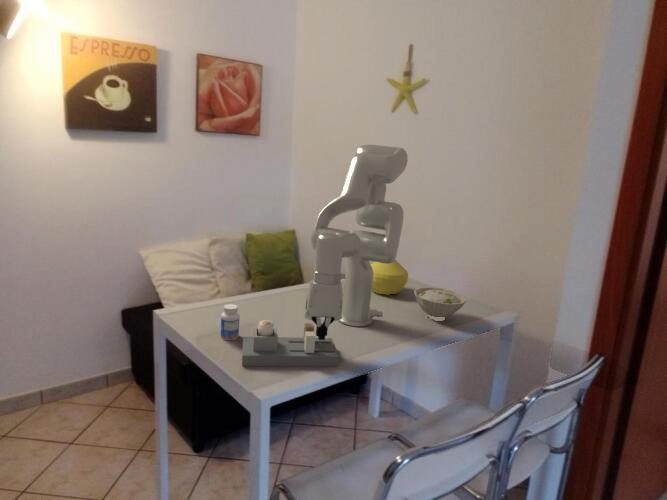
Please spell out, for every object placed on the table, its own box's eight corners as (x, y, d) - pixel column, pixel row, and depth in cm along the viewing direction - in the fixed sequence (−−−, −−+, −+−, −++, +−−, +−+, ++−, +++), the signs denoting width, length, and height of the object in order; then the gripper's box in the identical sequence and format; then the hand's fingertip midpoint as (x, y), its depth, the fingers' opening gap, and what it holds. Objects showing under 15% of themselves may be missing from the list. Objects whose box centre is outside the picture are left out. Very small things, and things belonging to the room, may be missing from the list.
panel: (331, 347, 141) (333, 325, 140) (338, 366, 130) (340, 342, 128) (242, 346, 137) (243, 323, 135) (241, 365, 125) (243, 341, 123)
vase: (353, 288, 200) (358, 244, 196) (382, 282, 213) (387, 241, 209) (386, 301, 188) (392, 255, 183) (414, 294, 200) (420, 250, 196)
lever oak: (311, 339, 138) (312, 323, 137) (312, 343, 135) (314, 327, 134) (303, 339, 138) (304, 323, 136) (304, 343, 135) (305, 327, 134)
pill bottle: (221, 332, 144) (223, 302, 142) (239, 333, 145) (241, 303, 143) (219, 340, 139) (220, 309, 137) (237, 341, 140) (239, 310, 137)
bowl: (440, 332, 161) (445, 304, 159) (399, 313, 176) (402, 287, 173) (473, 322, 174) (478, 296, 171) (432, 305, 188) (436, 281, 186)
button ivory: (272, 333, 133) (273, 320, 132) (272, 339, 129) (273, 325, 128) (258, 333, 132) (258, 319, 131) (258, 339, 128) (259, 325, 127)
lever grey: (312, 348, 132) (314, 331, 131) (313, 353, 129) (315, 336, 128) (304, 348, 132) (305, 331, 131) (305, 352, 129) (306, 335, 128)
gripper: (349, 274, 138) (343, 333, 142) (298, 272, 135) (294, 332, 139) (355, 282, 130) (348, 344, 135) (301, 280, 128) (296, 343, 132)
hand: (321, 338), depth 137 cm, fingers closed
